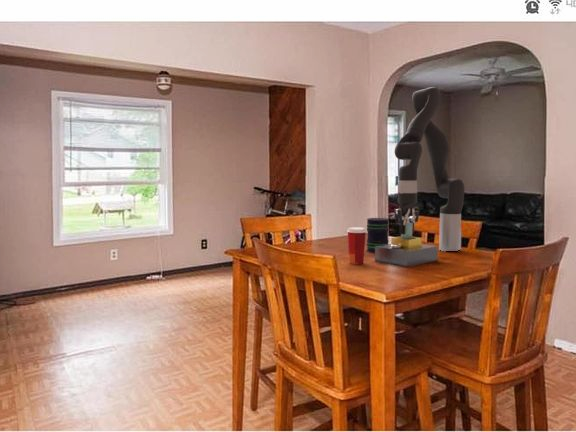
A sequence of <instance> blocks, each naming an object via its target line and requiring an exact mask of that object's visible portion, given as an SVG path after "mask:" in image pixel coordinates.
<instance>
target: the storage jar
mask: <svg viewBox="0 0 576 432" xmlns="http://www.w3.org/2000/svg"><path fill="white" fill-rule="evenodd" d="M366 221H367V222H366V223H367V224H366V232H367V237H366V238H367V239H366V252H367V253H372V254H375V246H382V245H388V244H389V239H388V238H389V230H390V229H389V226H390V225H389V224H390V223H389V222H390V221H389V218H387V217H386V218H384V217H369V218H367V219H366Z"/></svg>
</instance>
